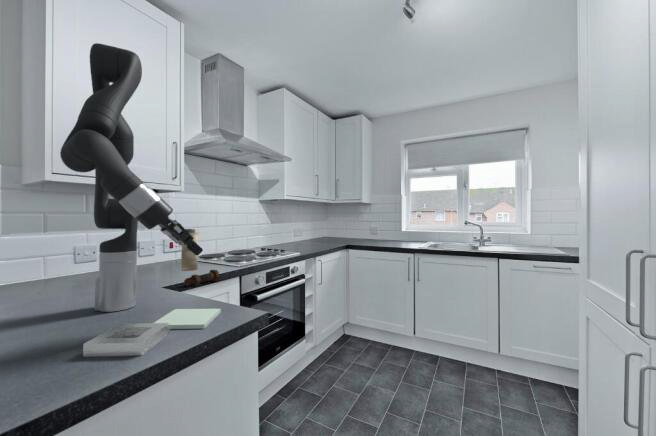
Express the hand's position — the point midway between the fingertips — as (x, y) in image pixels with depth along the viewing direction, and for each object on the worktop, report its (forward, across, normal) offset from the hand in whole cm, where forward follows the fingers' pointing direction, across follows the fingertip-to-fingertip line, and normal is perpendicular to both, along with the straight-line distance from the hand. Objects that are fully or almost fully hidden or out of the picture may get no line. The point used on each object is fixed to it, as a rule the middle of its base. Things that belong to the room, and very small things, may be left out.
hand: (197, 252), depth 78 cm
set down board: (+11, 0, +14) cm, 18 cm away
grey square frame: (+2, -8, +24) cm, 25 cm away
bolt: (+23, +45, +2) cm, 51 cm away
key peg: (+2, 0, +5) cm, 5 cm away
